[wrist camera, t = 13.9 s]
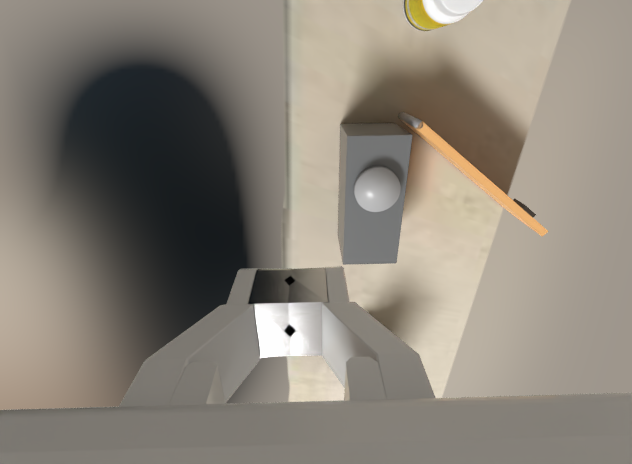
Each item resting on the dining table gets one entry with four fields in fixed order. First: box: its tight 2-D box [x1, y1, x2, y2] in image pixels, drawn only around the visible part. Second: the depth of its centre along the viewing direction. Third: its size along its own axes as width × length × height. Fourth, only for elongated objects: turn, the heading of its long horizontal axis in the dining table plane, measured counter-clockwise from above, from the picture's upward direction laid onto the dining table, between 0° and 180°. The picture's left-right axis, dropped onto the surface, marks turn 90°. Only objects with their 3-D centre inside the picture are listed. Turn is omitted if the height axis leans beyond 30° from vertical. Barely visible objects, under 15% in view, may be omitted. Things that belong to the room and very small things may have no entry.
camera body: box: [338, 123, 412, 264], centre depth 35 cm, size 14×6×8 cm, turn 1°
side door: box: [398, 112, 548, 236], centre depth 34 cm, size 20×1×6 cm, turn 54°
